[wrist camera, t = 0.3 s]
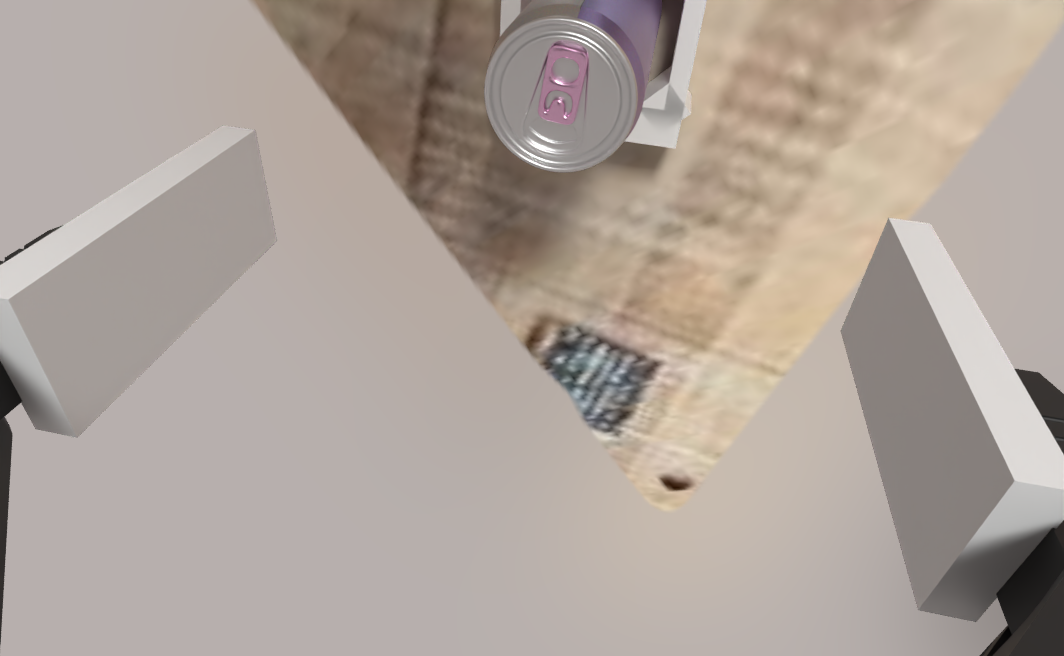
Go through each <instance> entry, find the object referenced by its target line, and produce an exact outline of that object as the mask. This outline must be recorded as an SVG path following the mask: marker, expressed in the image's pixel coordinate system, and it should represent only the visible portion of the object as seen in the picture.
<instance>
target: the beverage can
mask: <svg viewBox="0 0 1064 656" xmlns="http://www.w3.org/2000/svg"><path fill="white" fill-rule="evenodd" d="M661 12H662V0H532V1H531V2H530V3H529V4H528V5H527V6H526V7H525V8H524V10H523V11H522V12H521V13H520V14H519V15H518V16H517V17H516V19H515V20H514V21H513V22H512V23H511V24H510V25H509V26H508V28H507V29H506V30H505V31H504V32H503V34H502V35H501V36H500V38H499V39H498V41H497V43H496V45H495V46H494V49H493V51H492V53H491V56H490V59H489V63H488V68H487V73H486V78H485V86H484V97H485V106H486V110H487V114H488V117H489V120H490V123H491V125H492V127H493V129H494V131H495V133H496V134H497V136H498V137H499V139H500V140H501V141H502V143H503V144H504V145H505V146H506V147H507V148H508V149H509V150H510V151H511V152H512V153H513V154H514V155H515V156H517V157H518V158H519V159H521V160H523V161H524V162H526V163H528V164H530V165H532V166H534V167H537V168H539V169H543V170H547V171H552V172H576V171H581V170H585V169H588V168H590V167H593V166H595V165H597V164H599V163H601V162H602V161H604V160H605V159H607V158H608V157H609V156H611V155H612V154H613V153H614V152H615V151H616V150H617V149H618V148H619V147H620V146H621V144H622V143H623V142H624V141H625V140H626V139H627V137H628V136H629V135H630V133H631V132H632V130H633V129H634V127H635V125H636V123H637V121H638V119H639V117H640V114H641V111H642V107H643V102H644V97H645V93H646V88H647V83H648V78H649V73H650V68H651V63H652V58H653V53H654V48H655V43H656V38H657V33H658V29H659V24H660V19H661Z"/></svg>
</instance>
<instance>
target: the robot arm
mask: <svg viewBox="0 0 1064 656" xmlns="http://www.w3.org/2000/svg"><path fill="white" fill-rule="evenodd" d="M276 241H277V238H276V233H275V228H274V223H273V218H272V213H271V207H270V203H269V197H268V192H267V187H266V182H265V177H264V172H263V167H262V161H261V156H260V151H259V146H258V141H257V136H256V130H253V129H246V128H239V127H232V126H224V125H222V126H221V127H219V128H217V129H216V130H214V131H213V132H211V133H210V134H208V135H207V136H205V137H203V138H202V139H200V140H199V141H197V142H195V143H194V144H192V145H191V146H189V147H187V148H186V149H184V150H183V151H181V152H180V153H178V154H176V155H175V156H173V157H171V158H170V159H168V160H167V161H165V162H163V163H162V164H160V165H159V166H157V167H156V168H154V169H152V170H151V171H149V172H148V173H146V174H144V175H143V176H141V177H140V178H138V179H137V180H135V181H133V182H132V183H130V184H129V185H127V186H125V187H124V188H122V189H121V190H119V191H118V192H116V193H115V194H113V195H111V196H110V197H108V198H106V199H105V200H103V201H102V202H100V203H98V204H97V205H95V206H94V207H92V208H90V209H89V210H87V211H86V212H84V213H83V214H81V215H79V216H78V217H76V218H75V219H73V220H72V221H70V222H68V223H67V224H65V225H63V226H60V227H57V228H55V229H52V230H49V231H47V232H45V233H44V234H42V235H41V236H39V237H38V238H36V239H34V240H33V241H31V242H29V243H28V244H26V245H25V246H24V249H18V250H17V251H15V252H13V253H12V254H10V255H9V256H7V257H5V261H4V262H3V261H0V642H1V625H2V608H3V590H4V572H5V554H6V538H7V520H8V502H9V485H10V467H11V450H12V432H11V429H10V426H9V424H8V422H7V421H6V419H5V417H4V416H6V415H7V414H8V413H9V412H10V411H11V410H13V409H14V408H15V407H16V406H17V405H18V404H20V403H22V405H23V407H24V409H25V411H26V412H27V414H28V416H29V418H30V420H31V421H32V423H33V425H34V427H35V429H38V430H43V431H48V432H53V433H57V434H62V435H67V436H72V437H78V436H79V435H80V434H81V433H82V432H84V431H85V430H86V429H87V427H88V426H90V425H91V424H92V423H93V422H94V421H95V420H96V419H97V418H98V417H99V416H100V415H101V414H102V412H104V411H105V410H106V409H107V408H108V407H109V406H110V405H111V404H112V403H113V402H114V401H115V400H116V399H117V398H118V397H119V396H120V395H121V394H122V393H123V392H124V391H125V390H126V389H127V388H128V387H129V386H130V385H131V384H132V383H133V382H134V381H135V380H136V379H137V378H138V377H139V376H140V375H141V374H142V373H143V372H144V371H145V370H146V369H147V368H148V367H150V366H151V365H152V364H153V363H154V361H155V360H157V359H158V358H159V357H160V356H161V355H162V354H163V353H164V352H165V351H166V350H167V349H168V348H169V347H170V346H171V345H172V344H173V343H174V342H175V341H176V340H177V339H178V338H179V337H180V336H181V335H182V334H183V333H184V332H185V331H186V330H187V329H188V328H189V327H190V326H191V325H192V324H193V323H194V322H195V321H196V320H197V319H198V318H199V317H200V316H201V315H202V314H203V313H204V312H205V311H206V310H207V309H208V308H209V307H210V306H211V305H212V304H214V302H216V301H217V300H218V299H219V298H220V297H221V296H222V295H223V294H224V293H225V292H226V291H227V290H228V289H229V288H230V287H231V286H232V285H233V284H234V283H235V282H236V281H237V280H238V279H239V278H240V277H241V276H242V275H243V274H244V273H245V272H246V271H247V270H248V269H249V268H250V267H251V266H252V265H253V264H254V263H255V262H256V261H257V260H258V259H259V258H260V257H261V256H262V255H263V254H264V253H265V252H266V251H267V250H268V249H269V248H270V247H271V246H272V245H273V244H274V243H275V242H276ZM841 334H842V338H843V341H844V344H845V348H846V352H847V355H848V359H849V363H850V366H851V370H852V374H853V377H854V381H855V384H856V388H857V391H858V395H859V399H860V402H861V406H862V410H863V413H864V417H865V420H866V424H867V428H868V431H869V435H870V438H871V442H872V446H873V449H874V453H875V456H876V460H877V464H878V467H879V471H880V474H881V478H882V482H883V485H884V489H885V492H886V496H887V499H888V503H889V507H890V510H891V514H892V518H893V521H894V525H895V528H896V532H897V536H898V539H899V543H900V546H901V550H902V554H903V557H904V561H905V564H906V568H907V572H908V575H909V579H910V582H911V586H912V590H913V593H914V597H915V600H916V604H917V608H918V610H920V611H925V612H930V613H935V614H940V615H945V616H950V617H954V618H960V619H964V620H969V621H974V622H976V621H977V620H978V619H979V618H980V617H981V616H982V614H983V613H984V612H985V611H986V609H988V607H989V606H990V605H991V604H992V603H993V602H994V600H995V599H996V598H998V600H999V603H1000V606H1001V608H1002V611H1003V613H1004V616H1005V619H1006V621H1007V624H1008V626H1007V627H1006V628H1005V629H1004V630H1003V631H1002V632H1001V633H1000V634H999V635H998V637H996V639H995V640H994V641H993V642H992V643H991V644H990V645H989V646H988V647H987V648H986V649H985V651H984V652H983V653H982V654H981V655H980V656H1064V394H1063V393H1062V392H1061V391H1060V390H1058V389H1057V388H1056V387H1055V386H1053V384H1051V383H1050V382H1049V381H1048V380H1047V379H1045V378H1044V377H1043V376H1042V375H1041V374H1040V373H1038V372H1031V371H1025V370H1019V369H1014V368H1013V366H1012V364H1011V362H1010V361H1009V359H1008V357H1007V356H1006V354H1005V352H1004V350H1003V349H1002V347H1001V345H1000V344H999V342H998V340H997V338H996V337H995V335H994V333H993V331H992V330H991V328H990V326H989V324H988V323H987V321H986V319H985V318H984V316H983V314H982V312H981V311H980V309H979V307H978V305H977V304H976V302H975V300H974V298H973V297H972V295H971V293H970V291H969V290H968V288H967V286H966V285H965V283H964V281H963V279H962V278H961V276H960V274H959V272H958V271H957V269H956V267H955V265H954V264H953V262H952V260H951V259H950V257H949V255H948V253H947V252H946V250H945V248H944V246H943V245H942V243H941V241H940V239H939V238H938V236H937V234H936V233H935V231H934V229H933V227H932V226H931V224H929V223H921V222H915V221H908V220H901V219H893V218H888V220H887V223H886V225H885V228H884V230H883V232H882V235H881V237H880V239H879V242H878V244H877V246H876V249H875V251H874V254H873V256H872V258H871V261H870V263H869V265H868V268H867V270H866V272H865V275H864V277H863V279H862V282H861V284H860V287H859V289H858V292H857V294H856V296H855V298H854V301H853V303H852V305H851V308H850V310H849V313H848V315H847V317H846V320H845V322H844V324H843V327H842V329H841Z"/></svg>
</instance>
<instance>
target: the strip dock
mask: <svg viewBox="0 0 1064 656" xmlns="http://www.w3.org/2000/svg"><path fill="white" fill-rule="evenodd" d="M531 1H532V0H501V21H500V36H501V35H502V34H503V32H504V31H505V30H506V29H507V28H508V26H509V25H510V24H511V23H512V22H513V21H514V20H515V19H516V17H517V16H518V15H519V14H520V13H521V12H522V11H523V10H524V8H525V7H526V6H527V5H528V4H529V3H530V2H531ZM706 1H707V0H684V2H683V8H682V13H681V18H680V23H679V28H678V34H677V39H676V44H675V49H674V54H673V60H672V65H671V66H670V67H669V68H668V69H666V70H665V71H664V72H662V73H661V74H659V75H658V76H657V77H655V78H654V79H653V80H651V81H650V82H649V83H647V88H646V93H645V97H644V102H643V107H642V111H641V114H640V117H639V119H638V121H637V123H636V125H635V127H634V129H633V130H632V132H631V133H630V135H629V136H628V137H627V139H626V140H625V141H626V142H633V143H640V144H647V145H654V146H661V147H668V148H676V143H677V139H678V134H679V129H680V125H681V120H683V119H684V118H685V117H687V116H688V115H690V114H691V100H692V95H691V93H690V92H689V90H688V87H689V82H690V77H691V72H692V68H693V63H694V58H695V53H696V49H697V44H698V39H699V35H700V30H701V25H702V20H703V16H704V11H705V6H706Z"/></svg>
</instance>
